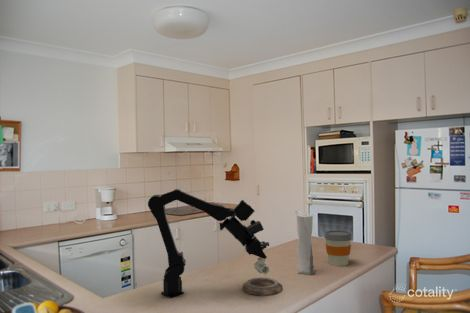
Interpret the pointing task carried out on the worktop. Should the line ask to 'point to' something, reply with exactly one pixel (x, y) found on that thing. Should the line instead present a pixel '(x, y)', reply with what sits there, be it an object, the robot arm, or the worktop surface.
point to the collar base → (262, 286)
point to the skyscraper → (305, 244)
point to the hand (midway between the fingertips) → (264, 256)
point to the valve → (262, 260)
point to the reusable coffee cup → (338, 247)
